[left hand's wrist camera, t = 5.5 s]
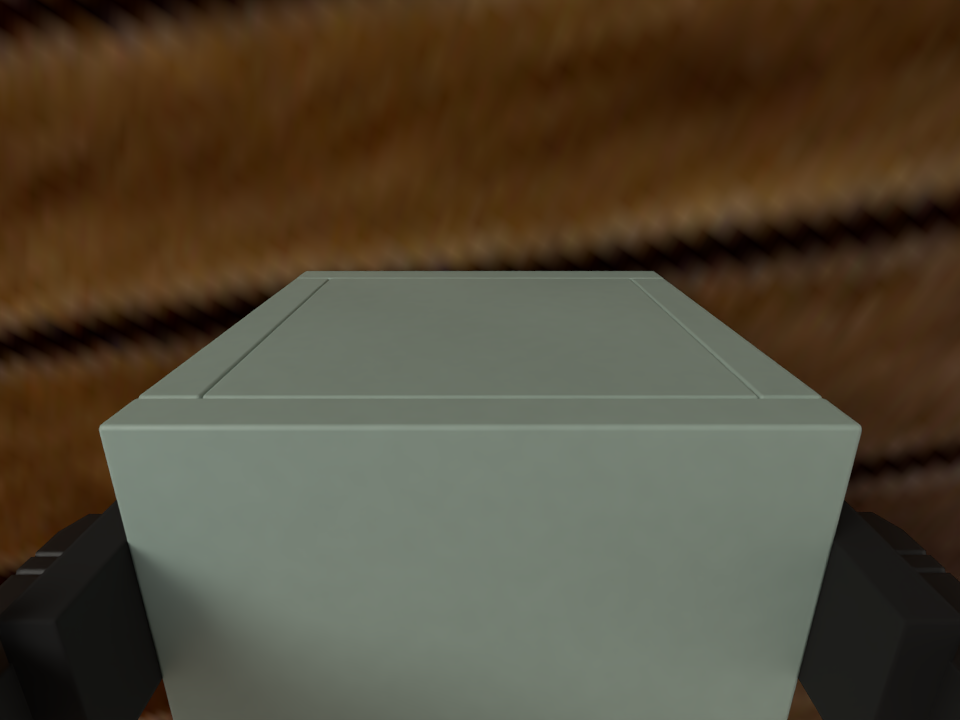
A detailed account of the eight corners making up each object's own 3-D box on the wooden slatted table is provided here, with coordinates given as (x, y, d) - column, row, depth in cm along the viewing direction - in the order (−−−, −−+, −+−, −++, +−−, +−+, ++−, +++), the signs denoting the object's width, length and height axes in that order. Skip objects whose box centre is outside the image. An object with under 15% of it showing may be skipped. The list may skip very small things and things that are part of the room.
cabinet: (609, 694, 23) (698, 1070, 14) (350, 694, 23) (261, 1071, 14) (655, 270, 17) (865, 426, 8) (305, 270, 17) (94, 426, 8)
